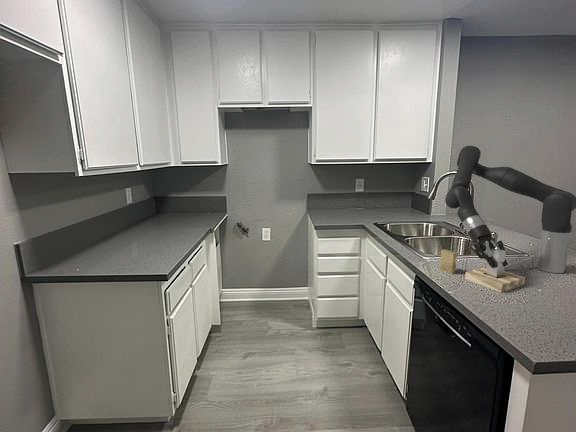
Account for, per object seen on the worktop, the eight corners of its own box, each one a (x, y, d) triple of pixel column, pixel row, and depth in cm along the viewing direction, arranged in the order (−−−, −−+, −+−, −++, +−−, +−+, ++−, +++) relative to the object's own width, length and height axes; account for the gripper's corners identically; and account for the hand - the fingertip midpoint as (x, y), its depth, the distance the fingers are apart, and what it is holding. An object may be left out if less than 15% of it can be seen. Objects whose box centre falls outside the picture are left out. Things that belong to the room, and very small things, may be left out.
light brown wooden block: (442, 268, 135) (444, 249, 134) (455, 273, 130) (456, 253, 128) (439, 269, 135) (441, 249, 133) (451, 274, 129) (453, 253, 127)
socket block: (487, 272, 129) (488, 266, 129) (524, 284, 117) (525, 277, 116) (465, 279, 124) (465, 272, 123) (501, 292, 111) (501, 284, 111)
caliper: (532, 268, 134) (534, 254, 133) (535, 268, 133) (536, 255, 132) (491, 272, 131) (493, 258, 130) (493, 273, 130) (495, 258, 129)
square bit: (492, 274, 123) (495, 248, 121) (502, 278, 119) (505, 251, 117) (485, 276, 121) (488, 249, 119) (496, 280, 118) (499, 252, 115)
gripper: (484, 232, 131) (507, 268, 122) (456, 235, 128) (478, 272, 119) (497, 222, 125) (522, 260, 116) (468, 225, 122) (491, 264, 112)
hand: (499, 266), depth 117 cm, fingers closed on square bit, 4 cm apart
